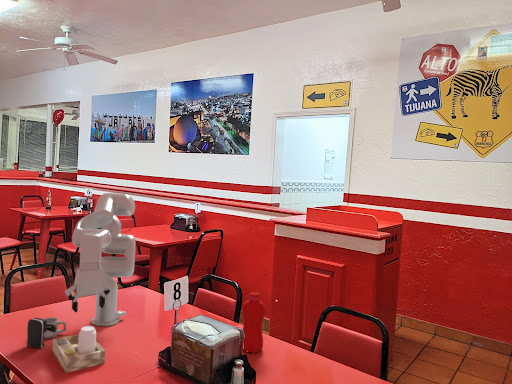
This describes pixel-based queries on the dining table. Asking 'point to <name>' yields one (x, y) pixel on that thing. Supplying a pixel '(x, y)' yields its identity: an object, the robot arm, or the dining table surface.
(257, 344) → the water bottle
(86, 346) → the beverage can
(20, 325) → the dining table surface
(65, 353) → the holder block
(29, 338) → the battery charger
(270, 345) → the dining table surface
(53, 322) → the mug
